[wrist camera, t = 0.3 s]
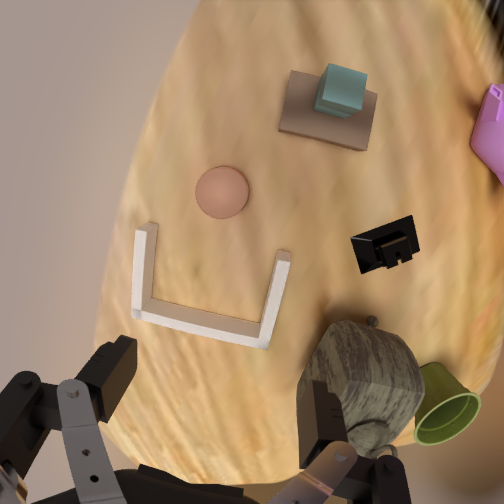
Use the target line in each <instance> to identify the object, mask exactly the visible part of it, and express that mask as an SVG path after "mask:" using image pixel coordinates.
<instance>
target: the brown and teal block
mask: <svg viewBox="0 0 504 504" xmlns="http://www.w3.org/2000/svg"><path fill="white" fill-rule="evenodd" d="M366 80H367V74H364V73H361V72H358V71H355V70H351V69H348V68H345V67H341V66H337V65H334V64H330V63H329V64H328V66H327V68H326V70H325V71H324V73H323V75H322V76H321V77H318V76H314V75H310V74H306V73H301V72H297V71H292V70H291V74H290V78H289V83H288V88H287V93H286V97H285V102H284V107H283V112H282V117H281V121H280V126H279V132H284V133H288V134H293V135H297V136H301V137H306V138H310V139H314V140H318V141H322V142H326V143H330V144H334V145H337V146H341V147H345V148H348V149H352V150H355V151H367V147H368V142H369V137H370V132H371V127H372V122H373V116H374V111H375V105H376V100H377V93H374V92H371V91H368V90H365V86H366Z"/></svg>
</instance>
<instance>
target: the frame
mask: <svg viewBox="0 0 504 504" xmlns="http://www.w3.org/2000/svg"><path fill="white" fill-rule="evenodd" d="M157 231H158V224H153V223H146V224H144V225H143V226H141V227H139V228H137V229H136V233H135V245H134V259H133V276H132V300H131V317H133V318H136V319H140V320H143V321H147V322H151V323H154V324H158V325H161V326H165V327H169V328H173V329H177V330H180V331H184V332H188V333H192V334H196V335H201V336H205V337H209V338H213V339H218V340H222V341H227V342H231V343H236V344H241V345H245V346H250V347H255V348H260V349H265V350H267V349H268V346H269V342H270V338H271V335H272V331H273V328H274V324H275V320H276V317H277V313H278V309H279V306H280V302H281V298H282V294H283V290H284V287H285V283H286V279H287V275H288V271H289V267H290V263H291V261H290V254H289V252H286V251H281V250H278V251H277V256H276V260H275V264H274V268H273V272H272V277H271V281H270V285H269V289H268V293H267V297H266V301H265V305H264V309H263V313H262V317H261V321H260V323H257V322H252V321H247V320H242V319H238V318H233V317H228V316H224V315H219V314H215V313H211V312H206V311H202V310H198V309H194V308H190V307H185V306H181V305H177V304H173V303H169V302H165V301H162V300H158V299H154V298H152V284H153V271H154V260H155V249H156V240H157Z"/></svg>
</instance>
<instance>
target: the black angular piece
mask: <svg viewBox="0 0 504 504" xmlns="http://www.w3.org/2000/svg"><path fill="white" fill-rule="evenodd" d="M350 239H351V242H352V245H353V249H354V252H355V255H356V258H357V262H358V265H359V268H360V272H361V274H364V273H367V272H369V271H372V270H374V269H377V268H380V267H386V268H387V269H389V268H392V267H394V266H397V265H398V261H397V260H401V262H402V263H404V262H407V261H409V260H412V259H413V258H412V254H414V253H417V252H419V251H420V248H419V243H418V238H417V234H416V229H415V225H414V220H413V216H412V215H410V216H407V217H404V218H402V219H399V220H396V221H394V222H391V223H388V224H386V225H383V226H380V227H378V228H375V229H372V230H369V231H367V232H364V233H361V234H359V235H356V236H353V237H351V238H350Z"/></svg>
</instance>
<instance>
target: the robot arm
mask: <svg viewBox="0 0 504 504" xmlns="http://www.w3.org/2000/svg"><path fill="white" fill-rule="evenodd" d="M136 369H137V340H136V339H134V338H131V337H128V336H124V335H120V336H119V337H118V339H117V340H116V341H115V343H112V342H107V343H105V344H103V345H101V346H100V347H99V348H98V349H97V351H96V352H95V354H93V356H92V357H91V358H90V360H89V361H88V362H87V363H86V365H85V366H84V367H83V368H82V370H81V371H80V372H79V373H78V375H77V376H76V377H75V378H74V379H68V380H65V381H63V382H61V383H60V384H59V385H53V384H47V383H42V382H41V380H40V378H39V376H38V375H37V374H36V373H34V372H31V371H22V372H20V373H17V374H16V375H15V376H14V377H13V378H12V380H11V381H10V382H9V383H8V385H7V386H6V387H5V388H4V390H3V391H2V392H1V393H0V504H26V497H27V492H28V491H27V487H26V484H25V482H24V481H23V480H24V478H25V476H26V474H27V472H28V470H29V468H30V466H31V464H32V463H33V461H34V459H35V457H36V455H37V454H38V452H39V450H40V448H41V447H42V445H43V443H44V441H45V440H46V438H47V436H48V434H49V433H50V431H51V429H54V430H59V431H62V434H63V440H64V445H65V449H66V453H67V458H68V461H69V466H70V469H71V473H72V477H73V481H74V484H75V488H73V489H70V490H67V491H65V492H62V493H59V494H57V495H54V496H51V497H48V498H46V499H43V500H40V501H37V502H34V503H32V504H259V503H258V502H257V501H255V500H253V499H251V498H249V497H247V496H244V495H243V490H244V489H243V488H237V487H231V486H226V485H220V484H191V483H187V482H185V481H183V480H181V479H179V478H177V477H175V476H173V475H171V474H169V473H167V472H165V471H162V470H159V469H156V468H153V467H149V466H146V465H143V464H140V465H139V468H138V470H137V469H122V470H117V471H113V468H112V466H111V463H110V460H109V457H108V454H107V452H106V449H105V446H104V442H103V439H102V436H101V433H100V430H99V426H98V422H99V421H102V422H105V423H108V421H109V419H110V418H111V416H112V414H113V412H114V410H115V409H116V407H117V405H118V403H119V402H120V400H121V398H122V396H123V395H124V393H125V391H126V389H127V388H128V386H129V384H130V382H131V381H132V379H133V377H134V375H135V373H136ZM343 417H344V416H343V411H342V405H341V401H340V400H339V398H338V397H337V395H336V394H335V393H330V392H328V386H327V382H326V381H322V380H314V379H310V380H309V381H308V384H307V386H306V388H305V391H304V393H303V395H302V398H301V400H300V402H299V406H298V437H299V469H305V470H304V471H303V472H300V473H299V474H298V475H297V476H296V477H295V478H294V479H293V480H292V481H291V482H289V484H287V485H286V486H285V487H284V488H283V489H282V490H281V491H280V492H279V493H278V494H277V495H275V496H274V497H273V498H272V499H271V500H270V501H269V502H268V503H267V504H323V503H324V502H325V501H326V500H327V499H328V497H329V496H330V495H331V494H332V495H335V496H339V497H342V498H345V499H347V502H348V503H347V504H412V503H411V498H410V493H409V488H408V483H407V478H406V474H405V469H404V465H403V463H402V462H401V461H400V460H399V459H398V458H397V457H395V456H392V455H383V456H381V457H379V458H378V459H377V460H373V459H370V458H366V457H363V456H360V455H358V454H357V451H356V449H355V448H354V447H353V446H352V445H351V444H349V442H348V437H347V431H346V426H345V421H344V418H343Z"/></svg>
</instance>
